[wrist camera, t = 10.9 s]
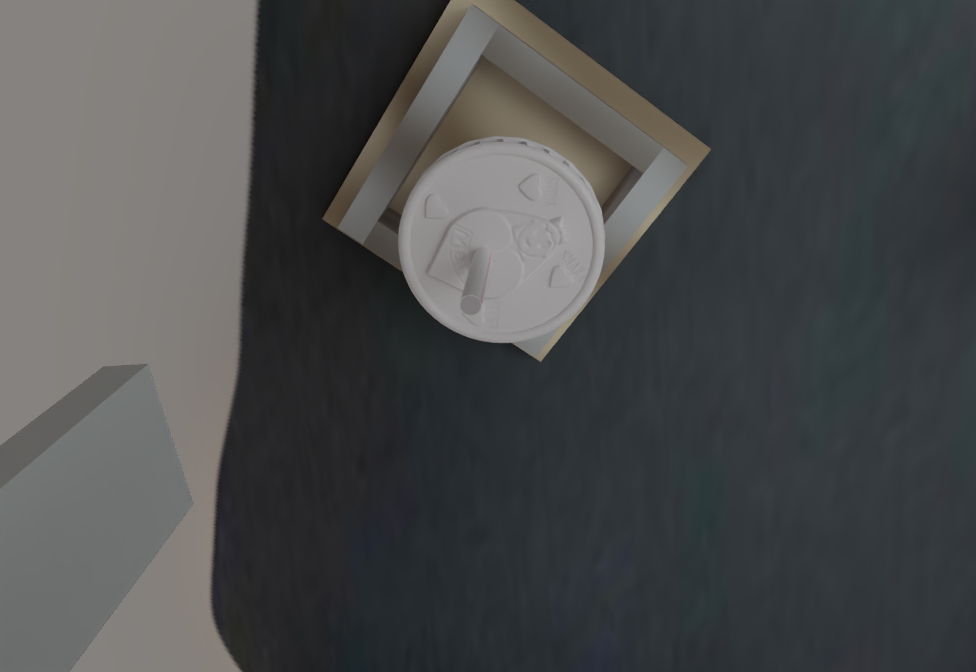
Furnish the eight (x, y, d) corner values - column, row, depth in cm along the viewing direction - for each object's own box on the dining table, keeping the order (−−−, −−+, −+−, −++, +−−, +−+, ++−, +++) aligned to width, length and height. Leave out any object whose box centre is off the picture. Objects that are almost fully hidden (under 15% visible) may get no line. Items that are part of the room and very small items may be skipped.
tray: (472, -31, 27) (464, -40, 24) (705, 145, 30) (726, 159, 26) (328, 213, 32) (304, 233, 29) (540, 352, 34) (540, 385, 31)
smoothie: (415, 137, 29) (320, 216, 16) (561, 85, 28) (582, 126, 15) (466, 275, 31) (418, 439, 19) (604, 232, 30) (653, 376, 17)
